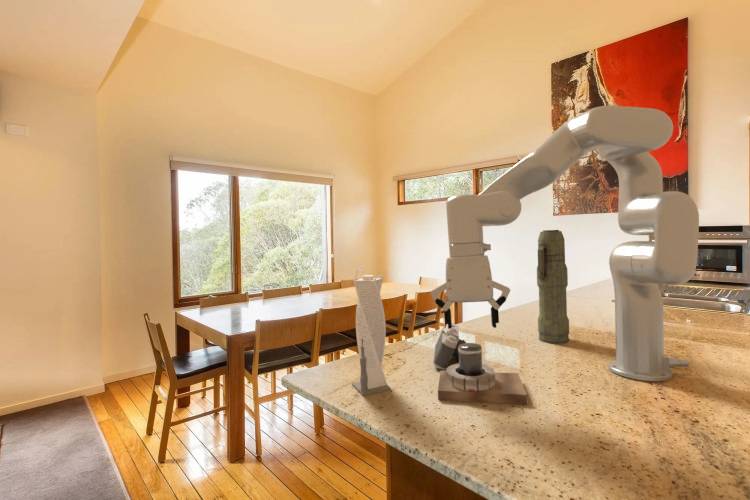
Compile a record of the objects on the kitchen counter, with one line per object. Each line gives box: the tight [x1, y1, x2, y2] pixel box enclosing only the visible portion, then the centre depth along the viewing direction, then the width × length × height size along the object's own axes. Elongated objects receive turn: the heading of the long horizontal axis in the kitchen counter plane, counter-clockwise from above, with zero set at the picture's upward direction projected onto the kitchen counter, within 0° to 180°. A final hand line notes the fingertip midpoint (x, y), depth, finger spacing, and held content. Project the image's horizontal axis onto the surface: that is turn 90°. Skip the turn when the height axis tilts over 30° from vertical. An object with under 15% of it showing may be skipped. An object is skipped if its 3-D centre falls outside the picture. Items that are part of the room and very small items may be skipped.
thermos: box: [536, 229, 570, 345], centre depth 119 cm, size 9×12×35 cm
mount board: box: [437, 362, 528, 405], centre depth 84 cm, size 18×12×4 cm, turn 77°
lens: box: [458, 342, 483, 376], centre depth 85 cm, size 5×5×8 cm
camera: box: [432, 322, 467, 371], centre depth 104 cm, size 9×16×10 cm, turn 170°
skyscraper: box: [351, 267, 392, 396], centre depth 89 cm, size 8×8×28 cm
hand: (471, 326), depth 84 cm, fingers open, 9 cm apart
